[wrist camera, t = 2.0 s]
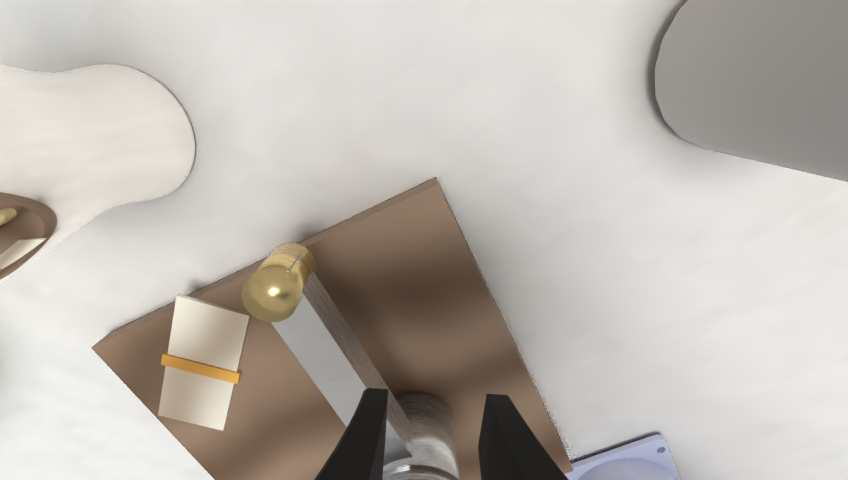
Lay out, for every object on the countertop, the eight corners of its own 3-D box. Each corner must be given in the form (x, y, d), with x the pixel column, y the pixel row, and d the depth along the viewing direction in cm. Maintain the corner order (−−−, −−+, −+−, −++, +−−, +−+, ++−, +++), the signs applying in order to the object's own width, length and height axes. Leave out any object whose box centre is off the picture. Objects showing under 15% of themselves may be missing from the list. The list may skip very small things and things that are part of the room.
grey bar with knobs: (474, 439, 24) (491, 540, 18) (394, 469, 24) (389, 574, 19) (340, 208, 19) (311, 257, 13) (244, 254, 19) (180, 318, 14)
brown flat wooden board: (565, 450, 27) (575, 475, 25) (301, 543, 29) (295, 571, 28) (430, 166, 20) (431, 174, 18) (103, 323, 23) (78, 342, 21)
